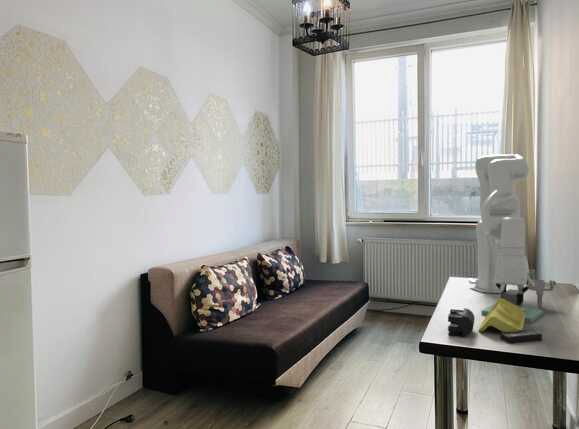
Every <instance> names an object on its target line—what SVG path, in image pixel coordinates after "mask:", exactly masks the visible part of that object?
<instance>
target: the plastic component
mask: <svg viewBox="0 0 579 429" xmlns="http://www.w3.org/2000/svg"><path fill="white" fill-rule="evenodd" d="M494 304H495V305H494V306H493V307H492V309H491V310H490V312H489V313H488V314H487V315H485V317H484V319H483V321H482V322H481V325H480V327H479V329H478V331H479V332H481V333H482V332H483V333H484V332H485V331H486V330H487V328H488V327H494V328H495V329H497V330H499V331H501V333H502V332H513V331H514V332H519V331H523V329H524V323H525V322H524V320H525V313H524V312H523V311H522V310H521V309H520V308H519V307H517V306H516V305H514V304H512V303H510V302H508V301H506V300H505V299H502V298H501V297H500V298H499V299H497V301H496V302H495V303H494Z"/></svg>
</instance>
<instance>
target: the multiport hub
mask: <svg viewBox="0 0 579 429" xmlns="http://www.w3.org/2000/svg"><path fill="white" fill-rule="evenodd" d="M499 338H500V340H501V341H503V342H506V343H508V344H522V343H523V344H524V343H532V342H542V341H543V334H542V333H541V332H538V331H536V330H533V329H526V330H523V329H522V330H521V331H519V332H514V331H513V332H502V331H501V332H500V336H499Z"/></svg>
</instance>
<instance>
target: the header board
mask: <svg viewBox="0 0 579 429" xmlns="http://www.w3.org/2000/svg"><path fill="white" fill-rule="evenodd" d="M494 305H495V303H493V304H491V305H489V306H487V307H485V308H484V309H480V310H481V315H482V316H487V314H488V313H489V312H490V310H491V309H492V307H493V306H494ZM520 309H521V310H522V311H523V312H524V313H525V320H524V323H528V324H532V323H534V322H535V321H536V320H537V319H539V318H540V317H541V316H543V314H544V310H542V309H536V308H531V307H523V306H522V307H520Z"/></svg>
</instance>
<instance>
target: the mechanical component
mask: <svg viewBox="0 0 579 429" xmlns="http://www.w3.org/2000/svg"><path fill="white" fill-rule="evenodd" d="M530 279H531V280H532V282H533V283H534V284H535V286H534V287H532V288H530V289H529V290H530V291H534V292H535V291H536V292H535V295H537V307H540V308H542V307H543V296H544V295H545V294H544V292H552V291H554V289H555V286H556V285H557V284H556V280H551V279H550V280H549V282H548V283H546V282H545V280H544V279H533V278H530ZM524 286H528V284H525V285H524ZM545 287H548V288H545Z"/></svg>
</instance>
